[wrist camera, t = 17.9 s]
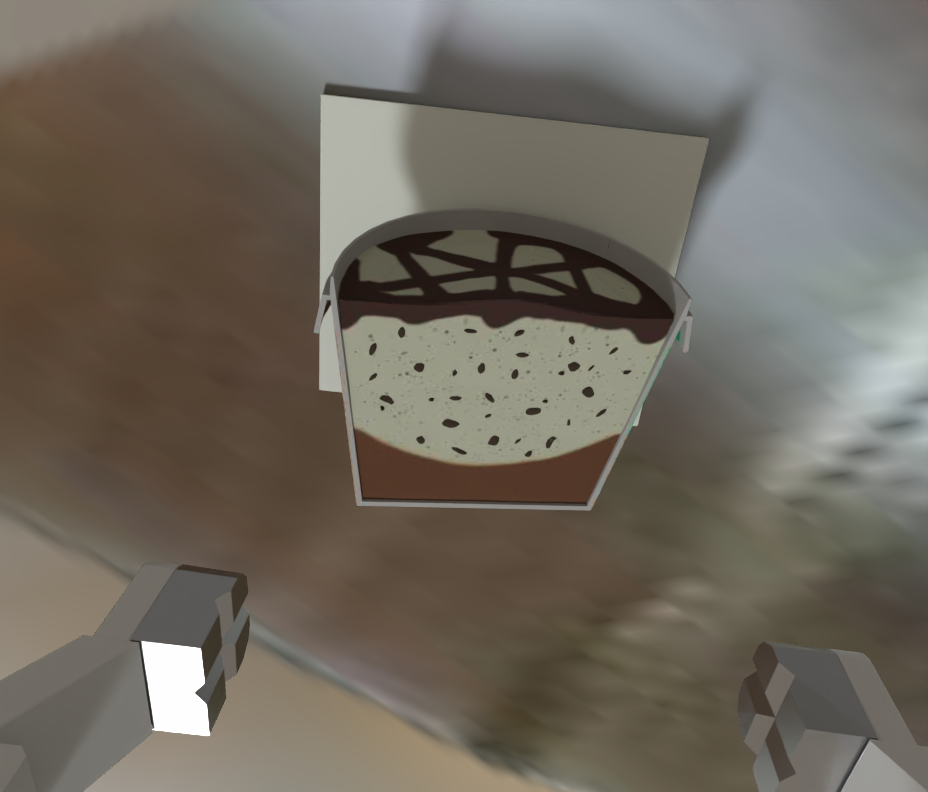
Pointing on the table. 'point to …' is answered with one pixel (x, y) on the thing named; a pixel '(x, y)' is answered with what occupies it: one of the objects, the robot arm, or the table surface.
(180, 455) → the table surface
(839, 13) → the table surface
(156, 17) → the table surface
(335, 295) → the food container
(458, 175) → the cream flat rectangular plate
